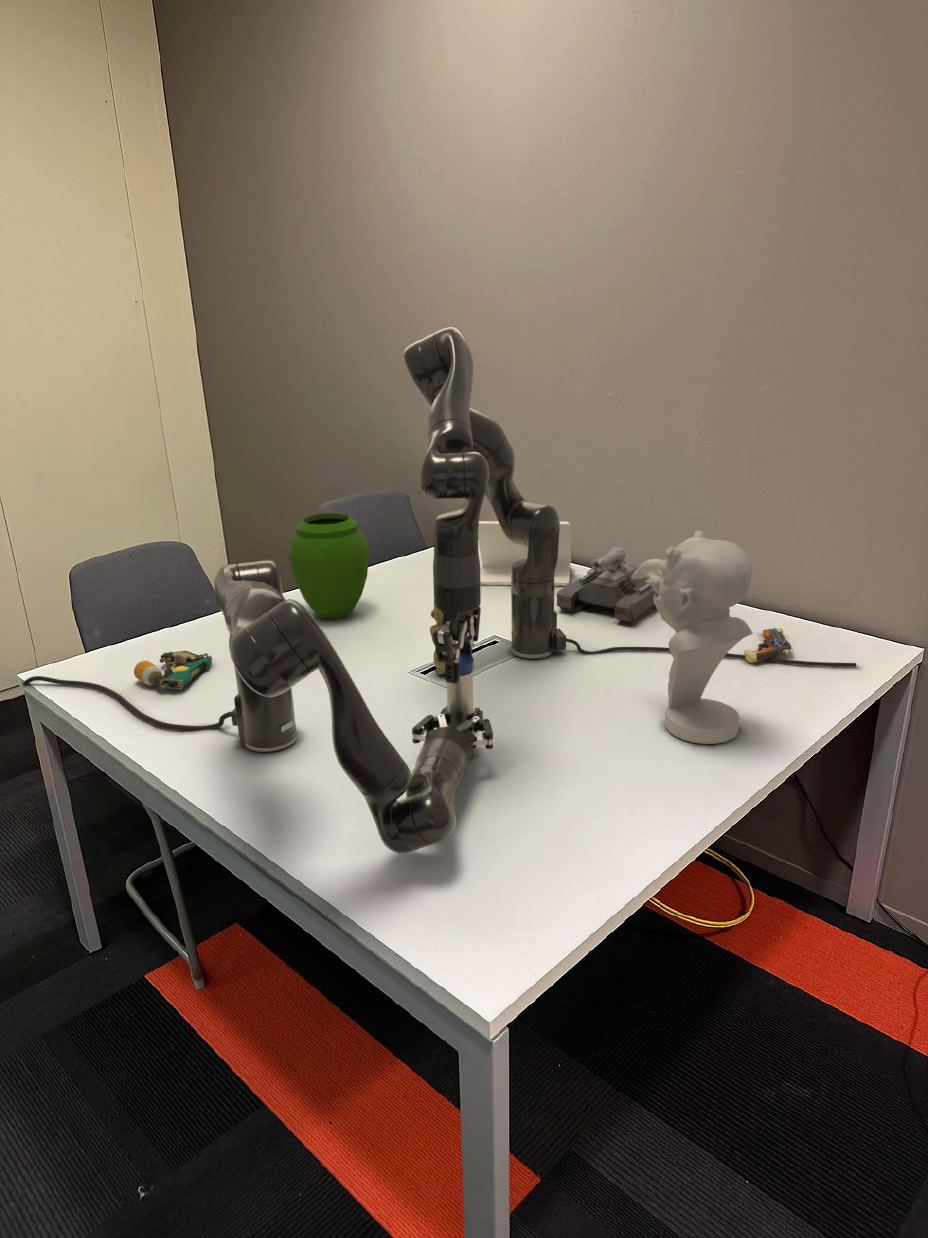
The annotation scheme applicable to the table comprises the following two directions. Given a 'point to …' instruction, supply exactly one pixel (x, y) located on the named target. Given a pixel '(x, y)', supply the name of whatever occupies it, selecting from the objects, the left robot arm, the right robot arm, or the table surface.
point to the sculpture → (438, 617)
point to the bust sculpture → (699, 629)
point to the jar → (460, 700)
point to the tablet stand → (515, 554)
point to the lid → (465, 663)
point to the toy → (610, 589)
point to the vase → (329, 563)
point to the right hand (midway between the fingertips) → (459, 675)
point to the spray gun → (172, 669)
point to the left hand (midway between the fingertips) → (463, 711)
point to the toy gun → (769, 646)
